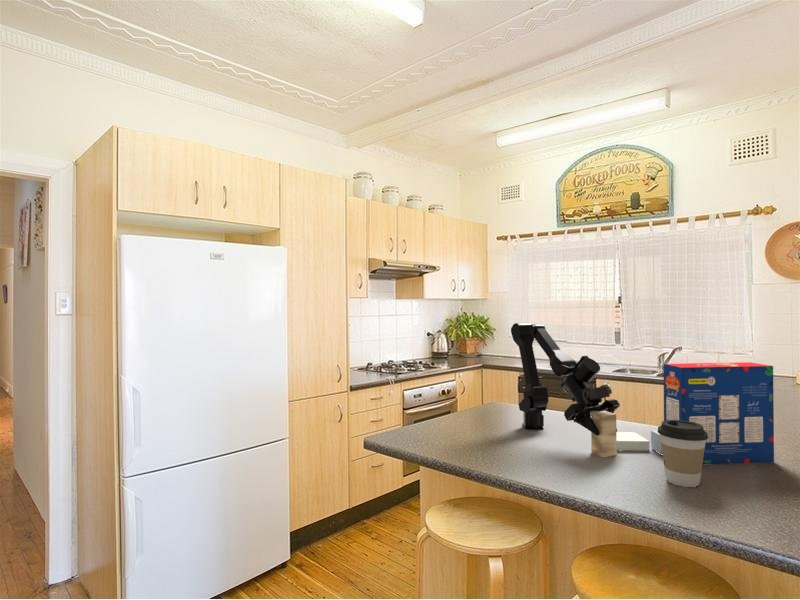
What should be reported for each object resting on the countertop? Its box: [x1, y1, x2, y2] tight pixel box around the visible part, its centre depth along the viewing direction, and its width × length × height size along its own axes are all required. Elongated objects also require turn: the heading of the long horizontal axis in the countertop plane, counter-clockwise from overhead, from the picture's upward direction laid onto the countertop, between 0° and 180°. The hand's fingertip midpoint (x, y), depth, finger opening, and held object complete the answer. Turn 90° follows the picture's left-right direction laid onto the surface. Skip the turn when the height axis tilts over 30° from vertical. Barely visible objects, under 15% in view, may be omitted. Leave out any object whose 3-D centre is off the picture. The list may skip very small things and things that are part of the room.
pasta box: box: [663, 361, 775, 465], centre depth 138 cm, size 28×8×28 cm, turn 95°
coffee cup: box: [657, 420, 708, 488], centre depth 120 cm, size 11×11×15 cm
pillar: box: [590, 411, 618, 458], centre depth 143 cm, size 4×6×12 cm
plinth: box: [616, 431, 651, 450], centre depth 151 cm, size 10×10×4 cm
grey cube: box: [650, 429, 663, 455], centre depth 144 cm, size 6×6×6 cm
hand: (607, 433), depth 142 cm, fingers open, 7 cm apart
